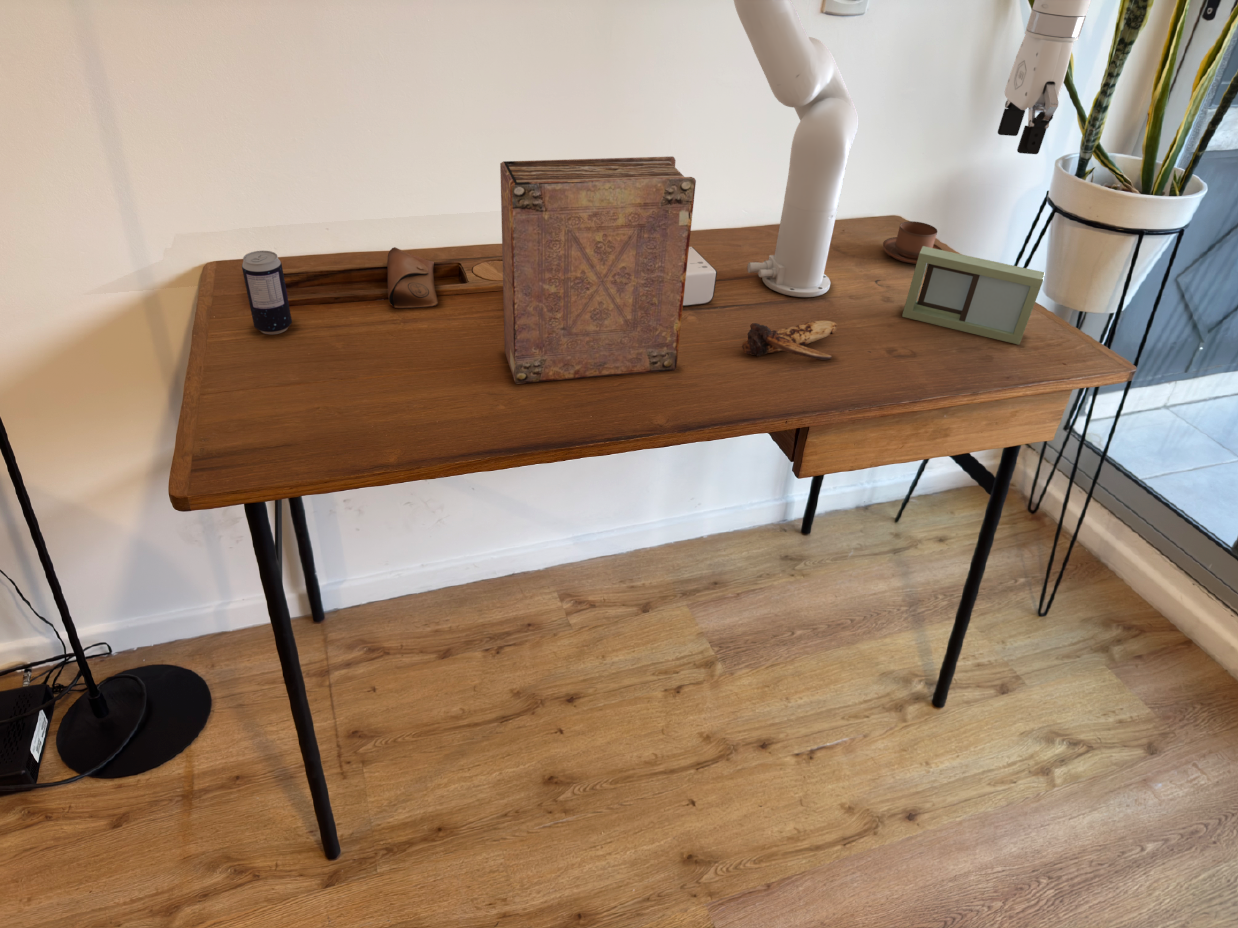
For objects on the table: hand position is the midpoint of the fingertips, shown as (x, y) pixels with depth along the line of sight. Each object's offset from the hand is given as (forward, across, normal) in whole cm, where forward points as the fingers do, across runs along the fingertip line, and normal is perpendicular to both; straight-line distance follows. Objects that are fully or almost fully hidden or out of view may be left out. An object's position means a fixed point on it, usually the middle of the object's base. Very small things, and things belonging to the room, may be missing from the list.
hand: (1016, 143), depth 141 cm
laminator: (+31, +3, -63) cm, 70 cm away
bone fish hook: (+31, +18, -32) cm, 48 cm away
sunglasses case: (+31, +4, -98) cm, 103 cm away
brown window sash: (+29, -1, -3) cm, 29 cm away
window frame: (+30, +4, -1) cm, 31 cm away
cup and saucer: (+31, -26, -3) cm, 40 cm away
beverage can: (+30, +22, -116) cm, 122 cm away
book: (+31, +26, -65) cm, 77 cm away
